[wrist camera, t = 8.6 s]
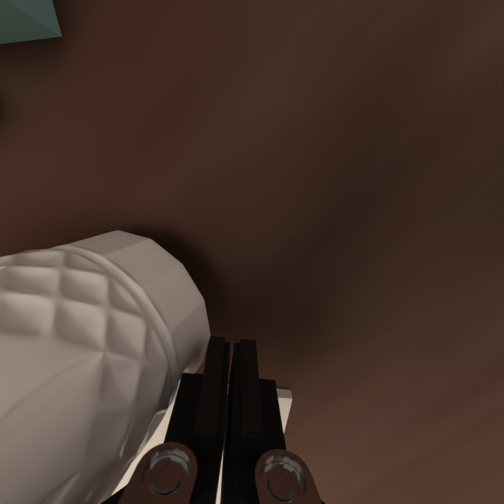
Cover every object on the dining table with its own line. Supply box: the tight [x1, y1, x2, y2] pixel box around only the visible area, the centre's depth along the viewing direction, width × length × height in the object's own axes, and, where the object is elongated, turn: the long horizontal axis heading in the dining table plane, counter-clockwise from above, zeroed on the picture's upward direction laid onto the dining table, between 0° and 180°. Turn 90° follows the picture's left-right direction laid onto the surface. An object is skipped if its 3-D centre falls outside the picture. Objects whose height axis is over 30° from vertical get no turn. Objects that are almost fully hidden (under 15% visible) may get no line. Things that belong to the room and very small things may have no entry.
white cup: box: [0, 230, 211, 504], centre depth 8 cm, size 8×8×10 cm
